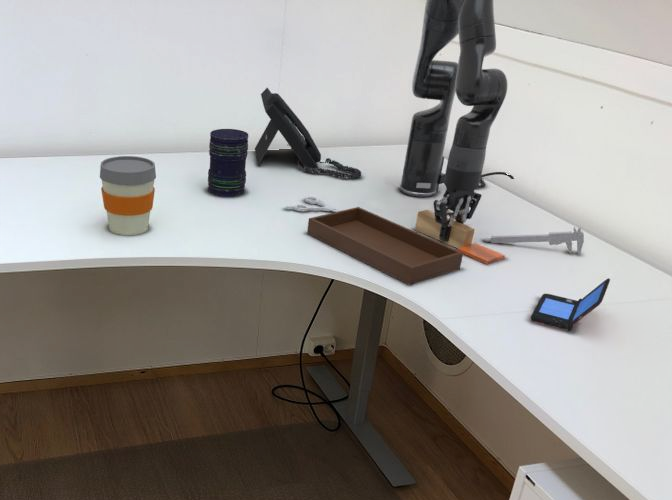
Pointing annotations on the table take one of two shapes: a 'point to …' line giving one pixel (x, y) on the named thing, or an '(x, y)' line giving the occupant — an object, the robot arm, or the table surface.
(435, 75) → the robot arm
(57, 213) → the table surface
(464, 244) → the tan and orange bar
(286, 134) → the office phone
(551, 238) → the caliper
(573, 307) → the handheld console
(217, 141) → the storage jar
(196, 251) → the table surface
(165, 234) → the table surface
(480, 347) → the table surface
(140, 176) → the reusable coffee cup
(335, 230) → the tray
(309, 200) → the scissors
